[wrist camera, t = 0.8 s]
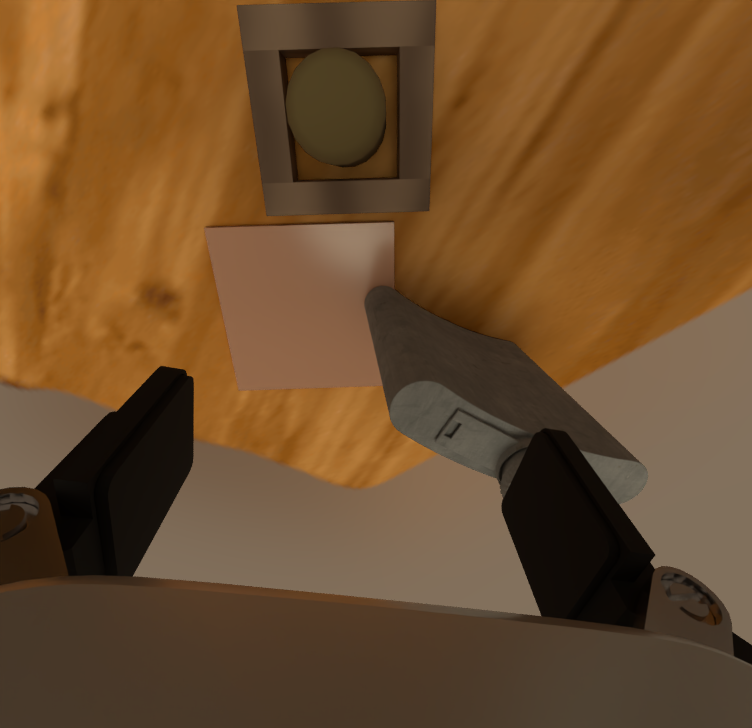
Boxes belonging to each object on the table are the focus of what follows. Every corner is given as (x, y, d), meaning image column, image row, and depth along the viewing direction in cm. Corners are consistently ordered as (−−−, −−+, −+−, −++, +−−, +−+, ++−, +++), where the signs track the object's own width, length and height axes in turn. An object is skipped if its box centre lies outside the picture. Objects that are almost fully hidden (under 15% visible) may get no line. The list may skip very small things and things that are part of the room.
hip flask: (525, 348, 38) (696, 504, 20) (502, 383, 40) (642, 558, 22) (373, 279, 34) (418, 398, 16) (354, 321, 36) (375, 474, 18)
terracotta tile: (393, 221, 33) (394, 222, 32) (394, 382, 40) (394, 385, 39) (206, 226, 33) (204, 228, 32) (240, 387, 40) (238, 390, 39)
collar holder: (430, 12, 27) (436, -1, 24) (424, 206, 32) (429, 211, 30) (247, 17, 27) (236, 5, 24) (273, 211, 32) (266, 216, 30)
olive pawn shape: (350, 185, 31) (343, 200, 22) (285, 125, 30) (246, 113, 20) (403, 117, 29) (422, 100, 20) (338, 47, 27) (323, -9, 18)
